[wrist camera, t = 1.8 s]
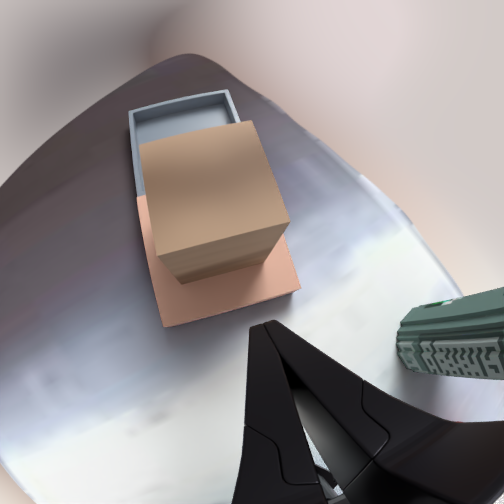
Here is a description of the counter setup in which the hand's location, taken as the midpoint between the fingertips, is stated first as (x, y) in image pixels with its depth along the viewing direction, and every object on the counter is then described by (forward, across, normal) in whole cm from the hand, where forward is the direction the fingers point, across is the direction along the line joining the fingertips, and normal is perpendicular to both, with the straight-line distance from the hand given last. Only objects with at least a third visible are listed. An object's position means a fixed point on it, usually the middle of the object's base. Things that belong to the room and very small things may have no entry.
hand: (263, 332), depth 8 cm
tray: (+22, 0, -2) cm, 22 cm away
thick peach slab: (+14, 0, +5) cm, 15 cm away
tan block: (+13, 0, +3) cm, 13 cm away
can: (+5, -16, +15) cm, 22 cm away
